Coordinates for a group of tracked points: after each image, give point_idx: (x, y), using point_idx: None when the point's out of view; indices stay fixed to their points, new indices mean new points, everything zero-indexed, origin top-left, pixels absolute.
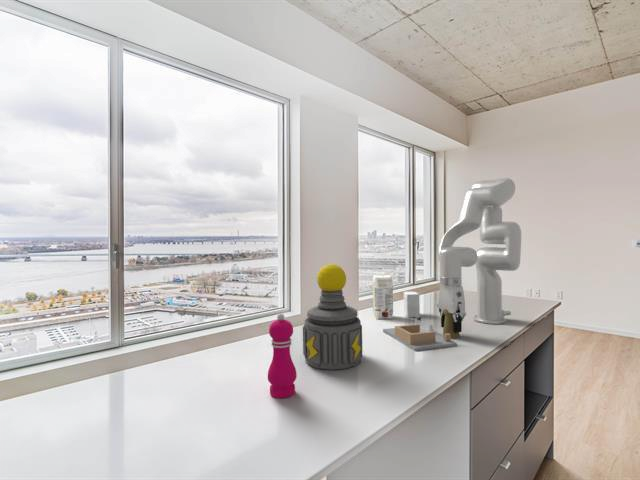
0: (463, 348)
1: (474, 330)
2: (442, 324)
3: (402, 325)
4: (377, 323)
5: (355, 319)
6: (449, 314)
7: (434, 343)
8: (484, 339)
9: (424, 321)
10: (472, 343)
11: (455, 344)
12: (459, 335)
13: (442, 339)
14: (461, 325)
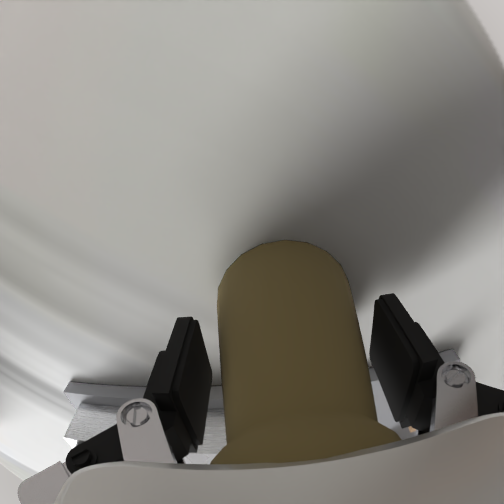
0: (489, 330)
1: (152, 11)
2: (209, 393)
3: None
4: (41, 453)
5: None
6: None
7: (407, 437)
8: (428, 92)
9: None
10: (467, 242)
11: (454, 358)
12: (331, 261)
13: (379, 402)
14: (418, 328)
